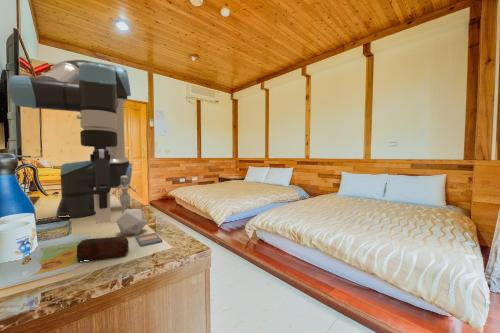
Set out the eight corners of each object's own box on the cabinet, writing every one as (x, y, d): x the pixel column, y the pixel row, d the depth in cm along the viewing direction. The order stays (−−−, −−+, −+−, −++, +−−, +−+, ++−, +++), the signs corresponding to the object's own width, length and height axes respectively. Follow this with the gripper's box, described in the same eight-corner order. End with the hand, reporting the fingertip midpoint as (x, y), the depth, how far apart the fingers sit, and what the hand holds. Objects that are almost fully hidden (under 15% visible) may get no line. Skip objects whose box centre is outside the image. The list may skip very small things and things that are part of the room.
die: (125, 241, 68) (146, 215, 71) (105, 226, 69) (125, 200, 72) (138, 241, 76) (156, 217, 78) (119, 227, 77) (137, 204, 80)
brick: (76, 264, 53) (75, 245, 53) (82, 257, 57) (82, 239, 56) (126, 257, 57) (126, 239, 56) (129, 251, 60) (128, 234, 60)
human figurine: (107, 224, 83) (106, 176, 82) (107, 221, 86) (106, 175, 85) (142, 219, 89) (141, 175, 88) (141, 217, 92) (140, 174, 92)
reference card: (135, 238, 69) (135, 236, 69) (155, 234, 73) (155, 232, 73) (140, 246, 63) (140, 244, 63) (162, 242, 66) (162, 239, 66)
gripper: (81, 134, 62) (83, 208, 63) (78, 122, 42) (82, 232, 43) (112, 135, 66) (114, 205, 67) (123, 126, 46) (125, 225, 47)
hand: (101, 215), depth 55 cm, fingers open, 13 cm apart
